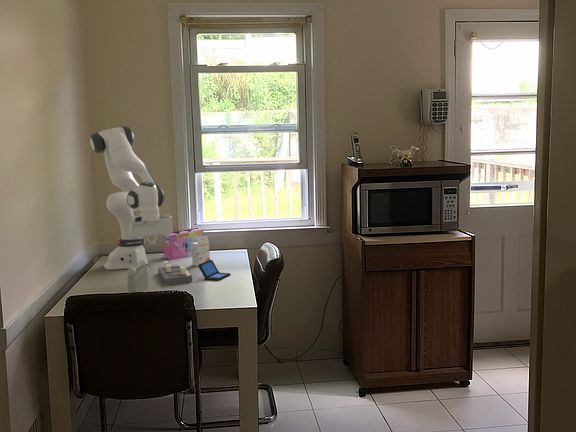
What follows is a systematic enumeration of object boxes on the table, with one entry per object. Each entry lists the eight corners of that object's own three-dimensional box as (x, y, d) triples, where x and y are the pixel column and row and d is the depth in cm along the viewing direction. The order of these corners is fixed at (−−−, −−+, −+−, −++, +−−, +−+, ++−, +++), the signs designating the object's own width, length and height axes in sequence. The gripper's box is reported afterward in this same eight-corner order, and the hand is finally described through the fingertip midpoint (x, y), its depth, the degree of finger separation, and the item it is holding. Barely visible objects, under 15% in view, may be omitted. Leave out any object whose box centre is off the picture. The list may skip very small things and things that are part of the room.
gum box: (199, 250, 343) (197, 227, 341) (207, 252, 338) (206, 228, 336) (163, 257, 327) (162, 233, 325) (171, 259, 321) (170, 235, 319)
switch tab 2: (167, 272, 279) (166, 266, 278) (166, 271, 282) (165, 264, 281) (171, 271, 279) (171, 265, 279) (170, 270, 282) (170, 264, 282)
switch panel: (166, 285, 269) (165, 278, 268) (158, 273, 291) (157, 267, 290) (192, 281, 273) (191, 275, 272) (182, 270, 295) (182, 264, 295)
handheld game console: (218, 282, 272) (217, 266, 271) (198, 280, 276) (197, 264, 275) (231, 275, 283) (230, 260, 282) (212, 274, 288) (211, 259, 287)
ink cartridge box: (203, 262, 313) (202, 234, 311) (210, 263, 310) (208, 235, 308) (191, 265, 306) (190, 237, 304) (198, 266, 303) (196, 238, 301)
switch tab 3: (182, 274, 273) (181, 268, 273) (180, 273, 276) (180, 267, 276) (186, 274, 274) (185, 267, 273) (185, 272, 277) (184, 266, 276)
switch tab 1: (164, 268, 286) (164, 262, 286) (163, 267, 289) (163, 261, 289) (168, 268, 287) (168, 262, 286) (167, 267, 290) (167, 261, 289)
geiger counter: (137, 258, 261) (119, 272, 237) (151, 258, 261) (135, 271, 237) (140, 289, 264) (122, 306, 239) (154, 288, 263) (138, 305, 239)
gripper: (170, 213, 288) (173, 241, 290) (127, 217, 281) (130, 246, 283) (173, 215, 283) (175, 243, 284) (129, 219, 276) (131, 248, 278)
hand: (152, 245), depth 284 cm, fingers closed
